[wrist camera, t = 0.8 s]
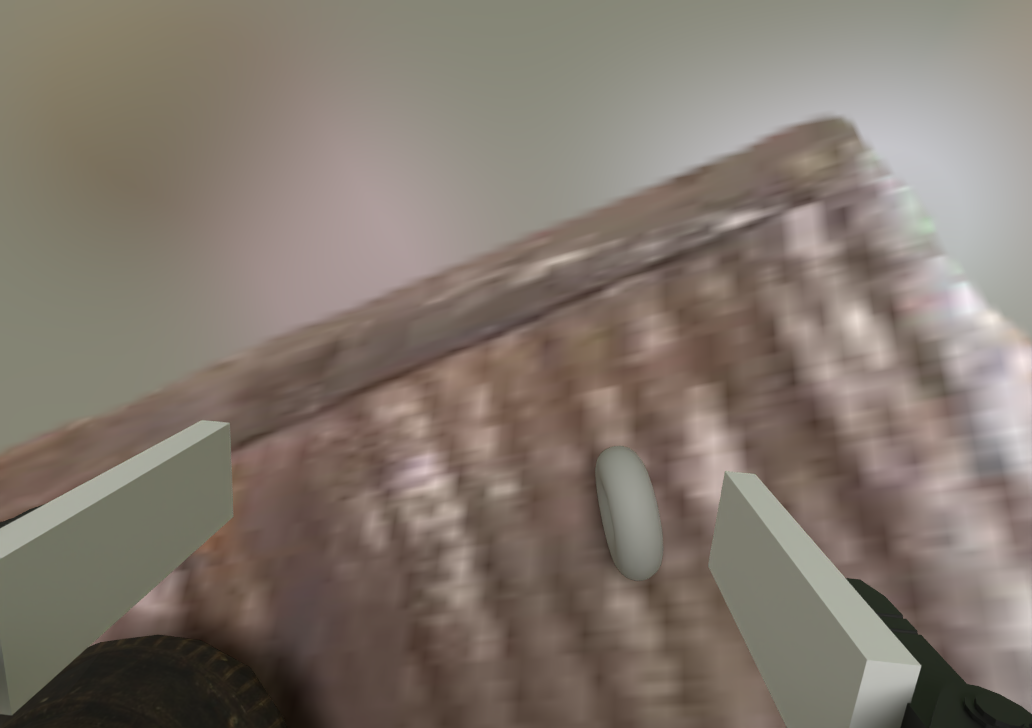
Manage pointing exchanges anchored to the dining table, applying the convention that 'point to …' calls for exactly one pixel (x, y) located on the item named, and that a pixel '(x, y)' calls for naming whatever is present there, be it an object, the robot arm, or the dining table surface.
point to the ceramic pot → (150, 689)
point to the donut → (629, 513)
